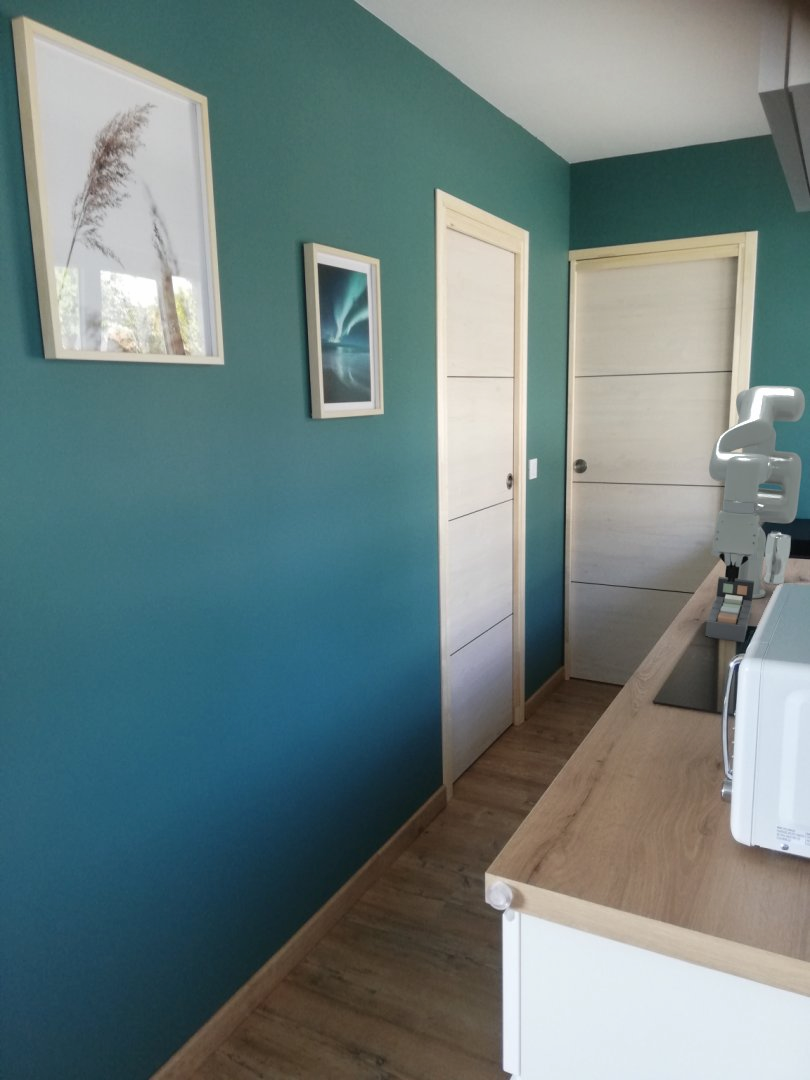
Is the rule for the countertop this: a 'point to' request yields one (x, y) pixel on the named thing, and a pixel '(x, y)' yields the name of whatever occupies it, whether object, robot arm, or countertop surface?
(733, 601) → the key cream
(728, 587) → the keypad
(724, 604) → the key sage
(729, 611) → the key grey
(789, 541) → the beer glass
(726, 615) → the key terracotta
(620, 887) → the countertop surface
